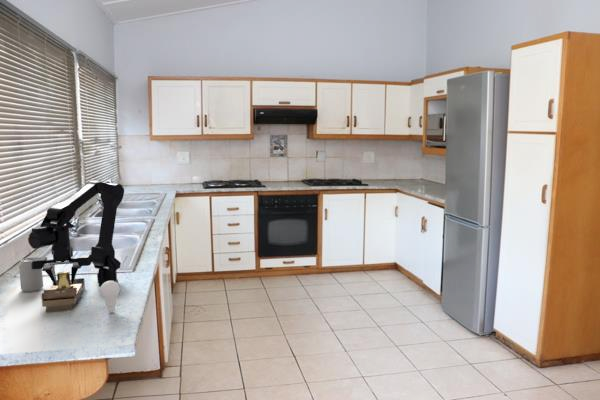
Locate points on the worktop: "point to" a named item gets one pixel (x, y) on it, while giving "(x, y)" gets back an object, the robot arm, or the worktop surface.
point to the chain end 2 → (78, 281)
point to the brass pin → (63, 280)
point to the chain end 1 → (60, 298)
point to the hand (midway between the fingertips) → (64, 285)
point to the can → (30, 276)
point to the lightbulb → (110, 294)
